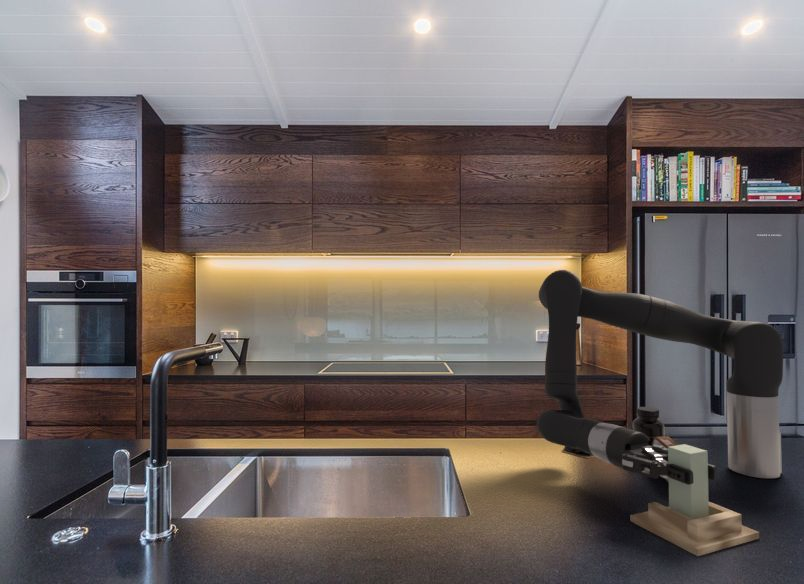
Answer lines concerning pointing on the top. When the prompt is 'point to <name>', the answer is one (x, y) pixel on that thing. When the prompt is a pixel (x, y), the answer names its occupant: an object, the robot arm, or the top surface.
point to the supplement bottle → (649, 423)
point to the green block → (691, 496)
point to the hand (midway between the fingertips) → (703, 475)
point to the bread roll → (576, 452)
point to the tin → (664, 444)
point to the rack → (696, 528)
